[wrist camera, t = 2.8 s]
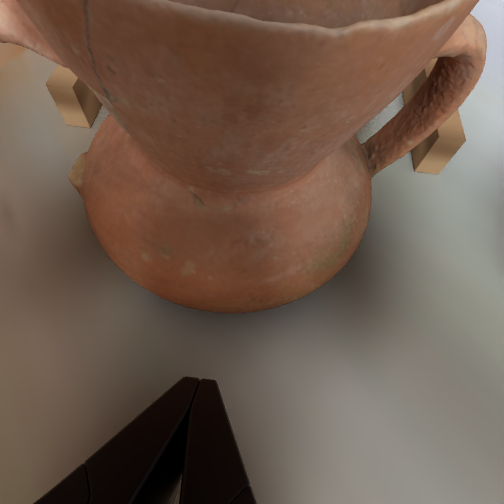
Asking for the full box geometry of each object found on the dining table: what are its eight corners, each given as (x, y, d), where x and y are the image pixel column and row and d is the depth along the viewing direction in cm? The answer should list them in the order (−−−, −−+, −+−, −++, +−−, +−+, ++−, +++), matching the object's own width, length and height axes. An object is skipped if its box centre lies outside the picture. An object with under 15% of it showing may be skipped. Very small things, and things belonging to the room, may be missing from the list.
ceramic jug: (58, 336, 16) (-513, 10, 4) (102, 121, 23) (-42, -255, 10) (413, 323, 18) (865, 80, 5) (358, 128, 25) (503, -184, 12)
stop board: (443, 175, 23) (541, 58, 16) (60, 124, 23) (-15, -16, 16) (420, 62, 29) (483, -59, 22) (118, 22, 29) (82, -113, 22)
